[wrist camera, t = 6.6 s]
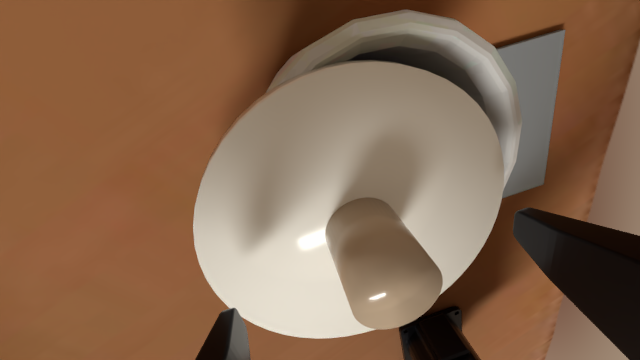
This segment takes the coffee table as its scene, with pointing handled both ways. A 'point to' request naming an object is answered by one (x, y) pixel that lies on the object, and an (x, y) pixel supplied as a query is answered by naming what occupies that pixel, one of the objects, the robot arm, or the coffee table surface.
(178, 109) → the coffee table surface
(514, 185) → the mat
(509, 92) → the mug
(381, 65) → the lid
